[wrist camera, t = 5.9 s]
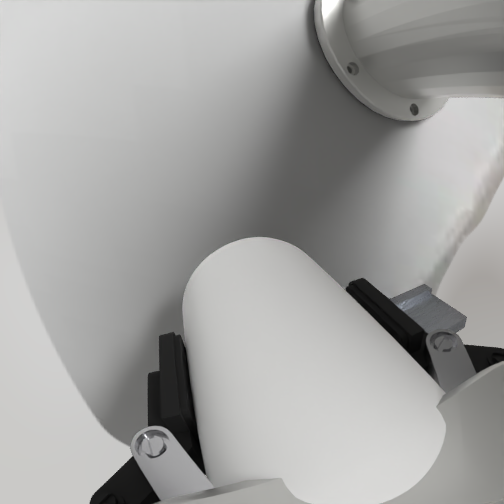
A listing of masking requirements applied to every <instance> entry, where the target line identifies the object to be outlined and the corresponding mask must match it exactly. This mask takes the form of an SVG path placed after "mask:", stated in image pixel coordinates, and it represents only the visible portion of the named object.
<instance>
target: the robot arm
mask: <svg viewBox="0 0 504 504" xmlns="http://www.w3.org/2000/svg"><path fill="white" fill-rule="evenodd" d="M314 19H315V27H316V31H317V36H318V40H319V42H320V45H321V47H322V50H323V52H324V55H325V57H326V59H327V61H328V62H329V64H330V66H331V67H332V69H333V71H334V73H335V74H336V75H337V77H338V78H339V79H340V81H341V82H342V83H343V85H344V86H345V87H346V88H347V89H348V90H349V91H350V92H351V93H352V94H353V95H354V96H355V97H356V98H357V99H358V100H359V101H360V102H362V103H363V104H364V105H366V106H367V107H368V108H370V109H371V110H373V111H375V112H377V113H379V114H381V115H383V116H385V117H388V118H392V119H396V120H405V121H415V120H424V119H426V118H429V117H431V116H433V115H435V114H436V113H437V112H438V111H440V110H441V109H442V108H443V106H444V105H445V104H446V102H447V101H448V99H449V98H459V97H475V98H504V0H315V5H314ZM346 292H347V293H349V294H350V295H351V296H352V297H353V298H354V299H355V300H356V301H357V302H358V303H359V304H360V305H361V306H362V307H363V308H364V309H365V310H366V311H367V312H368V313H369V314H370V315H371V316H372V317H373V318H374V319H375V320H376V321H377V322H378V323H379V324H380V325H381V326H382V327H383V328H384V329H385V330H386V331H387V332H388V333H389V334H390V335H391V336H392V337H393V338H394V339H395V340H396V341H397V342H398V343H399V344H400V345H401V346H402V347H403V348H404V349H405V350H406V351H407V352H408V353H409V354H410V356H411V357H412V358H413V359H414V360H415V361H416V362H417V363H418V364H419V365H420V366H421V367H422V368H423V369H424V370H425V371H426V372H427V373H428V374H429V375H430V376H431V378H432V379H433V380H434V381H435V382H436V383H437V384H438V385H439V386H440V387H441V388H442V389H443V390H444V392H445V393H446V394H444V395H443V396H442V398H441V400H440V401H439V403H438V405H437V406H436V408H437V409H438V410H439V412H440V413H441V415H442V417H443V419H444V421H445V423H446V433H445V438H444V442H443V445H442V447H441V450H440V452H439V454H438V456H437V458H436V460H435V462H434V463H433V465H432V467H431V468H430V469H429V471H428V472H427V473H426V474H425V476H424V477H423V478H422V479H421V480H420V481H419V482H418V483H417V484H415V485H414V486H413V487H412V488H410V489H409V490H408V491H406V492H404V493H403V494H401V495H399V496H397V497H395V498H393V499H391V500H389V501H386V502H383V503H380V504H504V349H502V348H496V347H484V346H474V345H464V344H463V342H462V340H461V338H460V337H459V336H458V335H457V334H456V333H455V332H453V331H451V330H447V329H437V330H434V331H432V332H430V333H429V334H428V333H427V332H426V331H424V329H423V328H422V327H421V326H420V325H418V324H417V323H416V322H415V321H414V320H413V319H412V318H410V317H409V316H408V315H407V314H406V313H405V312H403V311H402V310H401V309H400V308H399V307H398V306H396V305H395V304H394V303H393V302H392V301H391V300H389V299H388V298H387V297H386V296H385V295H383V294H382V293H381V292H380V291H379V290H377V289H376V288H375V287H374V286H373V285H371V284H370V283H369V282H368V281H367V280H365V279H364V278H360V279H357V280H354V281H351V282H350V283H349V286H347V287H346ZM159 365H160V371H156V372H152V373H149V374H148V427H147V428H144V429H142V430H140V431H139V432H138V433H137V434H136V435H135V436H134V437H133V439H132V441H131V448H130V449H131V452H132V455H133V456H132V457H131V458H130V459H129V461H127V463H125V464H124V465H123V466H122V467H121V468H120V469H119V470H118V471H117V472H116V473H115V474H114V475H113V476H112V477H111V478H110V479H109V480H108V481H107V482H106V483H105V484H104V485H103V486H102V487H100V488H99V489H98V490H97V491H96V492H95V493H94V495H93V496H92V498H91V501H90V504H310V503H307V502H304V501H302V500H300V499H298V498H296V497H295V496H294V495H293V494H292V493H291V492H290V491H289V489H288V488H287V487H286V485H285V483H284V482H283V480H282V478H274V479H259V480H245V481H242V482H238V483H234V484H230V485H226V486H221V487H217V488H214V487H213V484H212V483H211V482H210V481H209V480H208V478H207V477H206V476H205V475H206V471H205V466H204V461H203V456H202V451H201V446H200V440H199V435H198V429H197V423H196V417H195V411H194V405H193V398H192V391H191V384H190V377H189V370H188V362H187V354H186V348H185V346H184V343H183V340H182V338H181V336H180V335H176V336H175V334H174V332H172V333H168V334H164V335H160V336H159Z"/></svg>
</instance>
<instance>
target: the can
mask: <svg viewBox="0 0 504 504" xmlns="http://www.w3.org/2000/svg"><path fill="white" fill-rule="evenodd" d="M182 313H183V326H184V336H185V345H186V354H187V362H188V370H189V377H190V384H191V391H192V398H193V405H194V411H195V417H196V423H197V429H198V435H199V440H200V446H201V451H202V456H203V461H204V466H205V471H206V476H207V478H208V480H209V481H210V482H211V483H212V484H213V487H214V488H217V487H221V486H226V485H230V484H234V483H238V482H242V481H245V480H259V479H274V478H282V480H283V482H284V483H285V485H286V487H287V488H288V489H289V491H290V492H291V493H292V494H293V495H294V496H295V497H296V498H298V499H300V500H302V501H304V502H307V503H310V504H380V503H383V502H386V501H389V500H391V499H393V498H395V497H397V496H399V495H401V494H403V493H404V492H406V491H408V490H409V489H410V488H412V487H413V486H414V485H415V484H417V483H418V482H419V481H420V480H421V479H422V478H423V477H424V476H425V474H426V473H427V472H428V471H429V469H430V468H431V467H432V465H433V463H434V462H435V460H436V458H437V456H438V454H439V452H440V450H441V447H442V445H443V442H444V438H445V433H446V423H445V421H444V419H443V417H442V415H441V413H440V412H439V410H438V409H437V408H436V406H437V405H438V403H439V401H440V400H441V398H442V396H443V395H444V394H446V393H445V392H444V390H443V389H442V388H441V387H440V386H439V385H438V384H437V383H436V382H435V381H434V380H433V379H432V378H431V376H430V375H429V374H428V373H427V372H426V371H425V370H424V369H423V368H422V367H421V366H420V365H419V364H418V363H417V362H416V361H415V360H414V359H413V358H412V357H411V356H410V354H409V353H408V352H407V351H406V350H405V349H404V348H403V347H402V346H401V345H400V344H399V343H398V342H397V341H396V340H395V339H394V338H393V337H392V336H391V335H390V334H389V333H388V332H387V331H386V330H385V329H384V328H383V327H382V326H381V325H380V324H379V323H378V322H377V321H376V320H375V319H374V318H373V317H372V316H371V315H370V314H369V313H368V312H367V311H366V310H365V309H364V308H363V307H362V306H361V305H360V304H359V303H358V302H357V301H356V300H355V299H354V298H353V297H352V296H351V295H350V294H349V293H347V292H346V291H345V290H344V289H343V288H342V287H341V286H340V285H339V284H338V283H337V282H336V281H335V280H334V279H333V278H332V277H331V276H330V275H329V274H328V273H327V272H326V271H324V270H323V269H322V268H321V267H320V266H319V265H318V264H317V263H316V262H315V261H314V260H313V259H311V258H310V257H309V256H308V255H307V254H306V253H305V252H303V251H302V250H301V249H299V248H297V247H296V246H294V245H292V244H290V243H287V242H285V241H282V240H278V239H274V238H268V237H251V238H245V239H241V240H237V241H234V242H232V243H229V244H227V245H225V246H223V247H221V248H219V249H217V250H216V251H214V252H213V253H212V254H210V255H209V256H208V257H207V258H206V259H204V260H203V261H202V262H201V263H200V265H199V266H198V267H197V268H196V269H195V271H194V272H193V274H192V275H191V277H190V279H189V281H188V283H187V286H186V288H185V292H184V296H183V304H182Z"/></svg>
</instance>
